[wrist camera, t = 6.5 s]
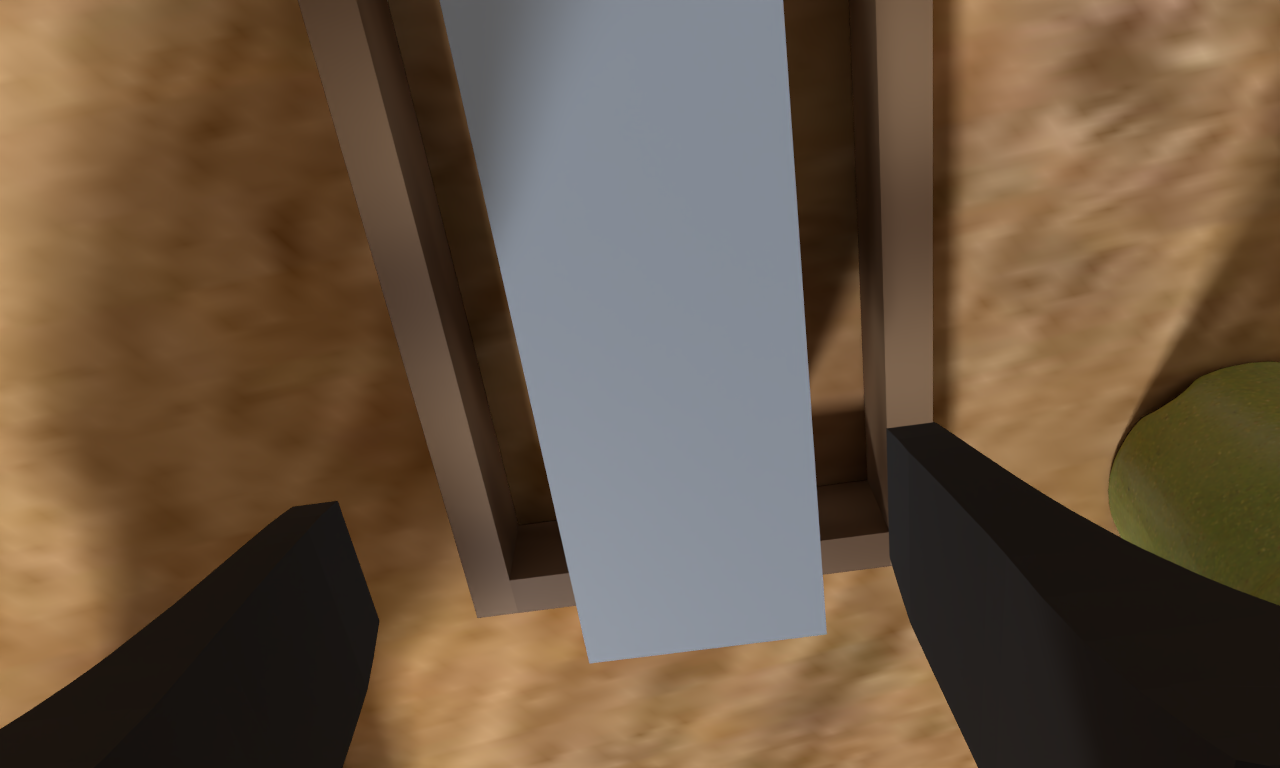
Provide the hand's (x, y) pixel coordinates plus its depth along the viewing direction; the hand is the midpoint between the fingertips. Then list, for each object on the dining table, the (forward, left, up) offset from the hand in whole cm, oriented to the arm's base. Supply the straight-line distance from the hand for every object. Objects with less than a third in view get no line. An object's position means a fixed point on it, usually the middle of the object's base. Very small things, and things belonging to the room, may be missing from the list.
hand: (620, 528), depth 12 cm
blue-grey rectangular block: (+1, -1, -8) cm, 8 cm away
